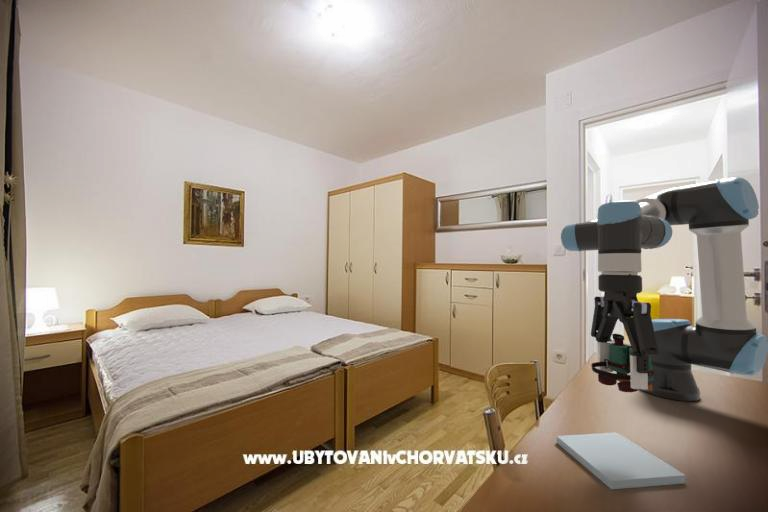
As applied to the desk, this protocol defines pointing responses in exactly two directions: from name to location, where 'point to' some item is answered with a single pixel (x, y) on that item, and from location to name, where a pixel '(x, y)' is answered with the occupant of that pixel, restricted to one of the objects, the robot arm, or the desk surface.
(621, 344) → the binoculars
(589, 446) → the board
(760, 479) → the desk surface
